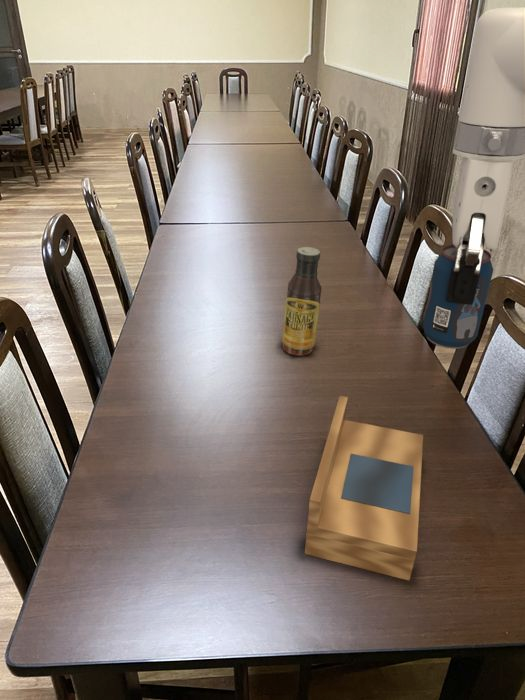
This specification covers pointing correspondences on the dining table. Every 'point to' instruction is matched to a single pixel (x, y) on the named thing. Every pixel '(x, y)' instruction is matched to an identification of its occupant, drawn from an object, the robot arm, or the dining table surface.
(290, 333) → the sauce bottle
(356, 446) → the wooden block with lip
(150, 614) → the dining table surface
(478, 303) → the soda can
